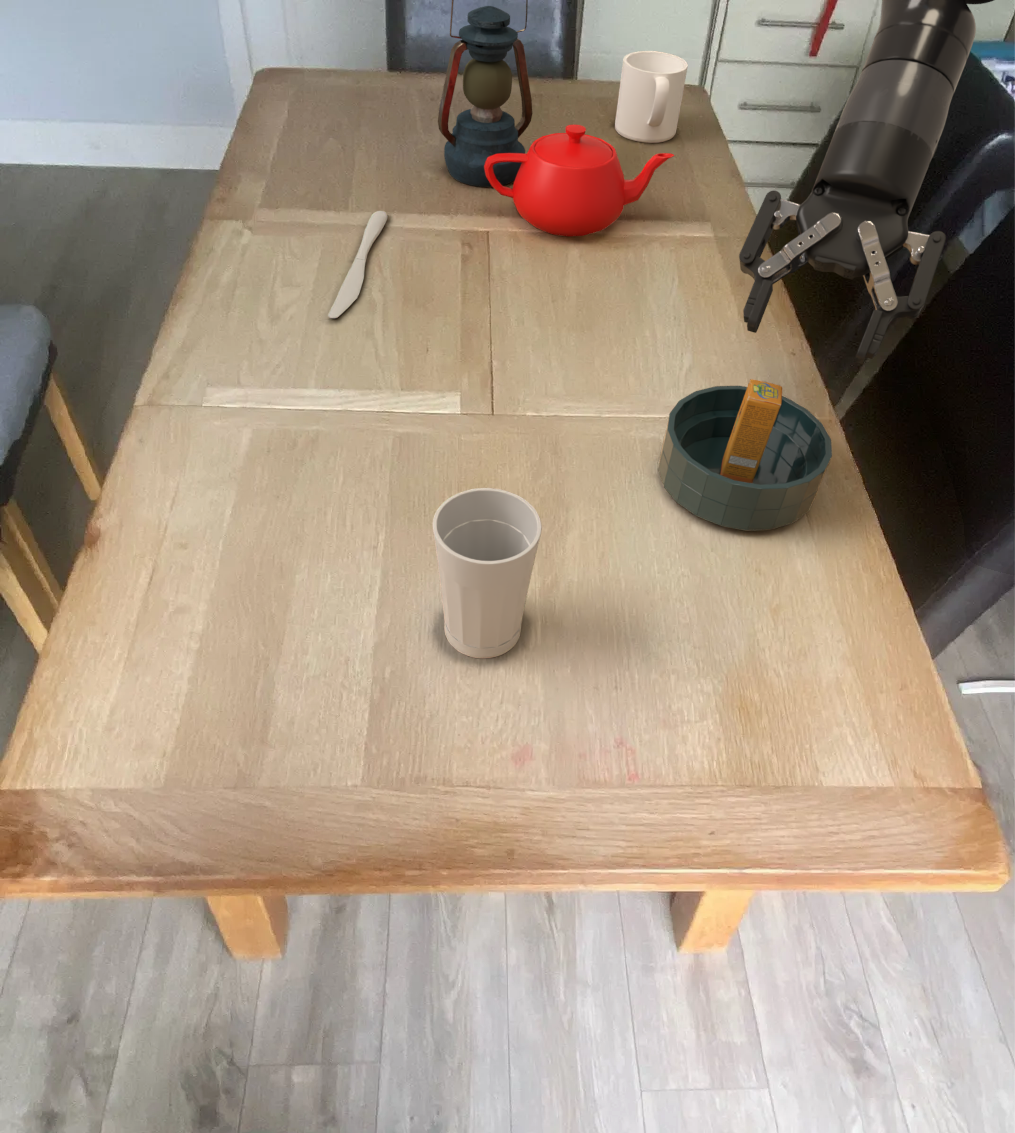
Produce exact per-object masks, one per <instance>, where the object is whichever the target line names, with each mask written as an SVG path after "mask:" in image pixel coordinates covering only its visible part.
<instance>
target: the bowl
mask: <svg viewBox="0 0 1015 1133" xmlns="http://www.w3.org/2000/svg"><path fill="white" fill-rule="evenodd" d="M747 387H748V386H745V385H716V386H715V385H714V386H710V387H707V388H703V389H698V390H695V391H693V392H691V393H690V394H688V395H686V396H684V397H683V398H681V399H679V401H677V403H676V404H675V406H674V407H673V408H672V409H671V410H670V412H669V414H668V418H667V423H666V427H665V432H664V437H663V441H662V445H661V450H660V454H659V460H658V461H659V462H658V468H657V470H658V474H659V476H660V480H661V482H662V484H663V488H664V489H665V490H666V491H667V493H668V494H669V495H670V496H671V497H672V499H673V500H674V502H676V504H678V505H679V506H681V507H683V509H685V510H687V511H688V512H689V513H691V514H693V515H694V516H695V517H698V518H700V519H702V520H705V521H707V522H709V523H712V524H715V525H717V526H720V527H724V528H729V529H734V530H741V531H747V532H751V531H770V530H771V531H772V530H775V529H778V528H781V527H785V526H788V525H791V524H793V523H795V522H796V521H798V520H799V519H801V518H802V517H804V515H806V514H807V513H809V511H810V509H811V507H812V505H813V504H814V503H813V502H814V501H815V499H816V497H817V495H818V492H819V490H820V487H821V485H822V482H823V479H824V477H825V475H826V474H827V470H828V467H829V466H830V463H831V460H832V457H833V446H832V439H831V436H830V435H829V433H828V431H827V430H826V428H825V425H823V423H822V422H821V421H820V420H819V419H818V418H817V417H816V416H815V415H814V414H813V413H812V412H811V411H810V410H809V409H807V408H806V407H804V406H802V405H800V404H799V403H797V402H795V401H794V400H792V399H790V398H789V397H787V396H784V395H782V403H781V406H780V409H779V411H778V414H777V417H776V420H775V422H774V425H773V428H772V431H771V434H770V436H769V439H768V442H767V444H766V447H765V450H764V452H763V455H762V458H761V461H760V463H759V466H758V469H757V472H756V474H755V477H754V480H753V483H748V482H742V481H736V480H733V479H730V478H727V477H725V476H722V475H720V474H721V465H722V459H723V456H724V453H725V450H726V447H727V444H728V441H729V438H730V435H731V433H732V430H733V427H734V424H735V421H736V418H737V415H738V412H739V409H740V407H741V404H742V401H743V398H744V395H745V392H746V390H747Z"/></svg>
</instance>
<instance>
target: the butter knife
mask: <svg viewBox="0 0 1015 1133" xmlns="http://www.w3.org/2000/svg"><path fill="white" fill-rule="evenodd" d="M387 220H388V213H387V212H386V211H384V210H376V211H375V212H373V213H372V214H371V215H370V217H369V219H368V221H367V224H366V226H365V229H364V232H363V236H362V239H361V243H360V245H359V248H358V251H357V253H356V255H355V257H354V260H353V262H352V264H351V266H350V268H349V270H348V272H347V275H346V276H345V278H344V280H343V282H342V284H341V286H340V287H339V290H338V293H337V295H336V297H335V300H334V302H333V304H332V306H331V308H330V309H329V312H328V314H327V317H328V318H329V319H331V320H332V319H337V318H338V317H340V316H341V315H342V314H343V313H344V312H345V311H346V310H347V309H348V308H349V307H350V306H351V305H352V304H353V303H354V302H355V301H356V300H357V299H358V297H359V295H360V293H361V289H362V286H363V282H364V279H365V268H366V267H365V266H366V264H367V263H366V262H367V259H368V254H369V252H370V250H371V248H372V246H373V244H374V242H376V239H377V238H378V237H379V236H380V234H381V232H382V230H383V229H384V226H385V225H386V224H387Z"/></svg>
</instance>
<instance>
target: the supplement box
mask: <svg viewBox="0 0 1015 1133" xmlns="http://www.w3.org/2000/svg"><path fill="white" fill-rule="evenodd" d="M746 387H747V390H746V392H745V395H744V398H743V401H742V404H741V407H740V409H739V412H738V415H737V418H736V421H735V424H734V427H733V430H732V433H731V435H730V438H729V441H728V444H727V447H726V450H725V453H724V456H723V459H722V465H721V474H720V475H722V476H725V477H727V478H730V479H733V480H736V481H742V482H748V483H753V480H754V477H755V474H756V472H757V469H758V466H759V463H760V461H761V458H762V455H763V452H764V450H765V447H766V444H767V442H768V439H769V436H770V434H771V431H772V428H773V425H774V422H775V420H776V417H777V414H778V411H779V409H780V406H781V403H782V396H783V386H781V385H780V384H775V383H773V382H767V381H763V380H757V379H753V378H750V379H749V382H748V384H747V386H746Z"/></svg>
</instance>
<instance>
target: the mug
mask: <svg viewBox="0 0 1015 1133" xmlns="http://www.w3.org/2000/svg"><path fill="white" fill-rule="evenodd" d="M688 67H689V65H688V62H687V61H686V60H685V59H684V58H682V57H680V56H678V55H676V54H672V53H669V52H663V51H655V50H639V51H634V52H630V53H627V54H626V55H624V57H623V58H622V67H621V75H620V82H619V90H618V97H617V105H616V113H615V121H614V130H615V131H616V132H617V134H619V135H620V136H621V137H623V138H625V139H627V140H630V141H634V142H639V143H647V144H658V143H662V142H667V141H670V140H672V139H673V138H674V137H675V135H676V133H677V129H678V124H679V118H680V112H681V107H682V101H683V96H684V89H685V83H686V79H687V73H688Z"/></svg>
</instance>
